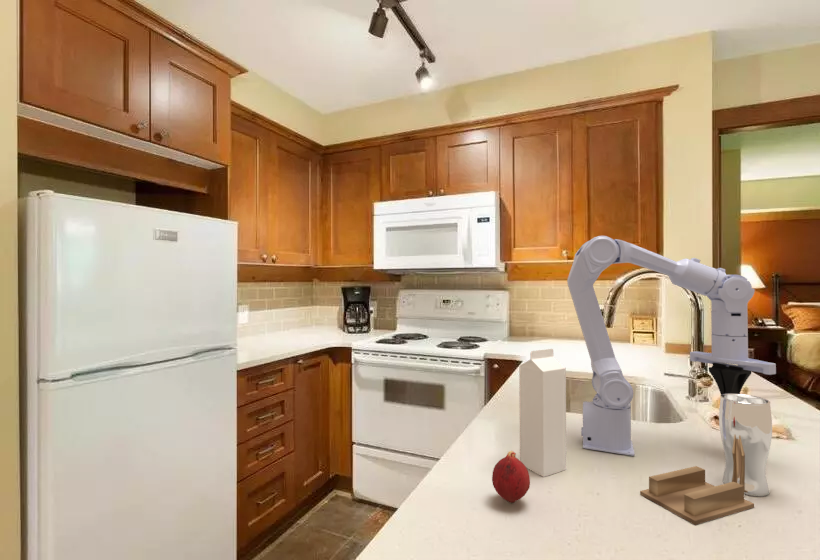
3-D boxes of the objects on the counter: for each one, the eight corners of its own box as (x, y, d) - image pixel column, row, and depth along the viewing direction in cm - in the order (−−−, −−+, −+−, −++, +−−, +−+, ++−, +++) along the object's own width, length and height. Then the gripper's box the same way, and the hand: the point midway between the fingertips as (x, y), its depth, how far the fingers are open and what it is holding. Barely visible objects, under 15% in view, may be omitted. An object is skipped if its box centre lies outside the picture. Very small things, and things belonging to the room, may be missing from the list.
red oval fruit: (523, 517, 61) (523, 462, 61) (486, 505, 64) (486, 454, 64) (534, 499, 66) (534, 449, 66) (499, 489, 69) (499, 442, 69)
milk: (566, 470, 76) (567, 351, 76) (543, 477, 73) (543, 353, 73) (541, 457, 82) (541, 346, 82) (518, 464, 79) (519, 348, 79)
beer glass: (783, 500, 65) (782, 405, 65) (733, 496, 67) (732, 403, 67) (756, 479, 72) (755, 393, 72) (711, 476, 74) (710, 391, 74)
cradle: (640, 494, 67) (640, 475, 67) (695, 481, 72) (695, 463, 72) (695, 525, 59) (694, 503, 59) (754, 507, 63) (754, 487, 63)
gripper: (785, 338, 76) (786, 411, 76) (705, 330, 90) (706, 392, 90) (761, 340, 74) (762, 416, 74) (682, 331, 87) (683, 396, 87)
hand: (730, 403), depth 82 cm, fingers closed
